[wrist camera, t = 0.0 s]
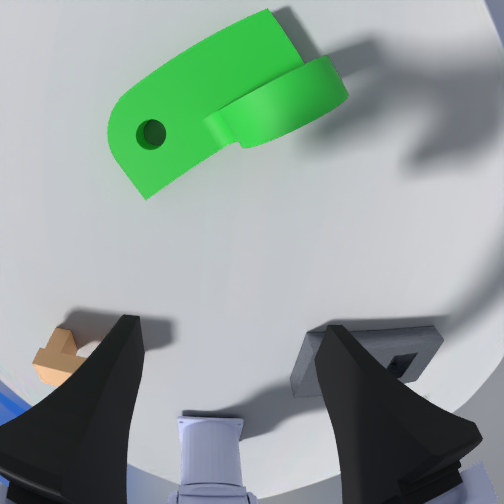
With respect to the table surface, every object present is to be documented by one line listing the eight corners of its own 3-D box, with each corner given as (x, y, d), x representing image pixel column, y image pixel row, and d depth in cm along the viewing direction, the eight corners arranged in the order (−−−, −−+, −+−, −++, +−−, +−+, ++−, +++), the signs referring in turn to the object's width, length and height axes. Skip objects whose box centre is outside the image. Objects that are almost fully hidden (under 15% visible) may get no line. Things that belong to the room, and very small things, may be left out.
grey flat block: (407, 366, 31) (415, 381, 29) (289, 378, 29) (294, 397, 27) (433, 325, 28) (444, 340, 26) (306, 332, 26) (313, 352, 23)
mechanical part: (262, 17, 13) (291, -34, 7) (311, 93, 16) (370, 92, 9) (102, 120, 16) (33, 139, 9) (152, 190, 18) (114, 247, 11)
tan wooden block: (137, 359, 26) (128, 401, 21) (58, 346, 24) (42, 382, 20) (133, 339, 24) (122, 382, 20) (51, 326, 23) (32, 363, 18)
